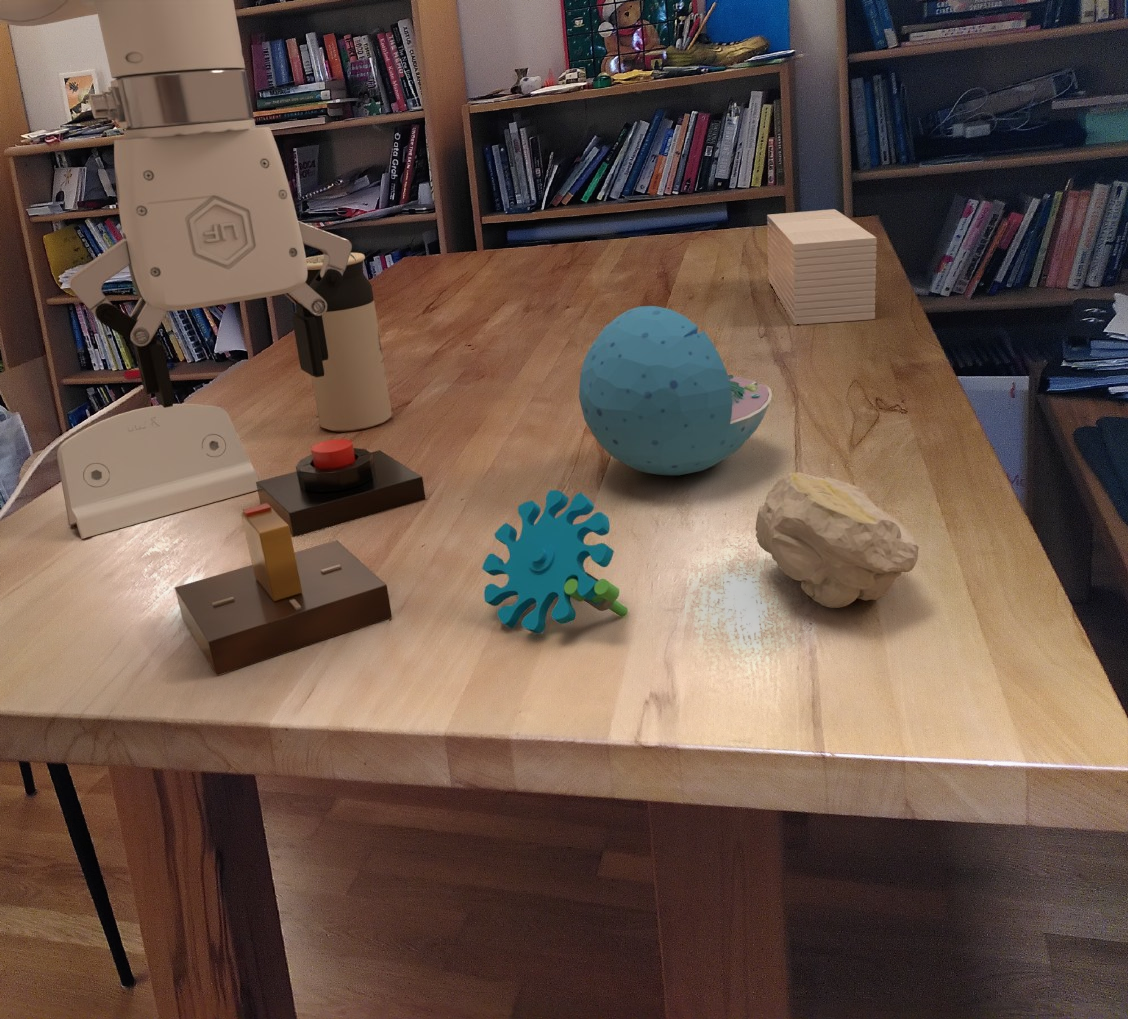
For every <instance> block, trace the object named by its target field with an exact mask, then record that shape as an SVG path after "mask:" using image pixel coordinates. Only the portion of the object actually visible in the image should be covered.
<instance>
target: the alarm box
mask: <svg viewBox="0 0 1128 1019" xmlns="http://www.w3.org/2000/svg"><path fill="white" fill-rule="evenodd" d="M353 448H354V454H355V460H356V461H354V462H353V463H351V464H349V465H345V466H341V467H337V468H327V469H321V468H314V463H313V457H312V454H310V455H307V456H306V457H304V458H302V459H300V460H299V461H298V463H297V464H296V466H295V471H293V472H288V473H285V474H281V475H277V476H274V477H273V476H272V477H270V478H265V479H261V480H259V481H257V482H256V485H257V490H256V491H257V494H258V499H259V505H261V504H265V503H268V504H269V505H270V507H271V508H272V509H273V510H274V511H275V512H276V513H277V514H278V515H279V516H280V517H281V518H282V519H283V520H284V521H285V522H286V523H287V524H288V525H289V528H290V533H291V537H294V538H295V537H298V536H302V535H306V534H309V533H312V532H317V531H320V530H322V529H326V528H330V527H334V526H338V525H341V524H344V523H348V522H351V521H354V520H358V519H362V518H365V517H369V516H372V515H376V514H380V513H383V512H386V511H390V510H393V509H397V508H400V507H401V508H402V507H405V506H407V505H410V504H414V503H418V502H422V501H426V500H427V499H426V498H427V497H426V493H425V485H424V480H423V476H422V475H420V474H419V473H417V472H415V471H414V470H412V469H411V468H409V467H407V466H406V465H405V464H403V463H401V462H399V461H398V460H397V459H395V458H393V457H392V456H390V455H389V454H387V453H385V452H384V451H382V450H379V449H378V450H375V451H371V452H370V451H369V450H367V449H365V448H357V447H353Z"/></svg>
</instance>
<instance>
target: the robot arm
mask: <svg viewBox="0 0 1128 1019" xmlns="http://www.w3.org/2000/svg"><path fill="white" fill-rule="evenodd" d="M95 15H97V17H98V22H99V26H100V31H101V35H102V40H103V45H104V49H105V54H106V59H107V62H108V63H107V64H108V67H109V72H110V77H111V79H114V80H111V81H110V83H109V84H110V86H109V87H107V89H106V90H102V91H101V92H100V93H99V92H98V93H89V94H88V100H89V104H90V109H91V112H92V116H93V118H94V119H97V120H98V119H108V120H109V121H115V122H114V123H119V127H120V129H124V130H122V131H123V135H124V138H123V139H122V138H121V139H115V140H113V146H114V147H113V157H114V159H113V160H114V175H115V176H114V177H115V187H116V197H117V205H118V213H119V220H120V225H121V226H120V227H121V231H122V239H121V240H119V241H118V242H116V243H115V244H114V245H112V246H111V247H109V248H108V249H106V250H105V251H104V252H102V253H101V254H99V255H98V256H97V257H95V258H94V259H93V260H91V261H90V262H88V263H87V264H85V265H84V266H83V267H81V268H80V269H79V270H77V271H76V272H74V273H73V274H71V275H70V276H69V277H68V280H67V285H68V286H69V288H70V290H72V292H73V293H74V294H75V295H76V296H77V297H78V299H79V300H80V301H81V302H82V303H83V304H84V305H85V306H86V308H87V309H88V310H89V311H90V312H91V313H92V315H93V317H95V318H96V319H97V320H98V321H99V322H100V323H101V324H103V325H104V326H106V327H108V329H109V328H110V330H112V331H114V332H115V333H117V334H118V335H120V336H122V337H123V338H125V339H127V340H128V341H130V342H131V343H132V345H133V350H134V354H135V358H136V362H137V367H138V372H139V374H140V375H139V376H140V379H141V380H140V381H141V385H142V388H143V390H144V393H145V394H146V395H152V394H154V396H155V399H156V401H157V402H158V403H159V404H160V405H162V406H163V407H164V408H166V407H171V406H173V404H176V397H175V393H174V389H173V385H172V384H173V383H172V380H171V376H170V371H169V366H168V362H167V358H166V352H165V349H164V345H163V344H162V343H161V342H160V341H158V339H157V336H156V333H157V330H158V329H159V328H160V326H161V324H162V322H163V320H164V319H165V317H166V315H167V314H168V312H169V311H170V312H175V311H177V312H178V311H185V310H186V311H187V310H193V309H199V308H200V309H201V308H206V307H212V306H213V307H214V306H219V305H226V304H232V303H239V302H245V301H251V300H257V299H263V298H269V297H273V296H279V295H284V296H285V297H287V299H289V300H290V301H291V302H292V303H293V304H295V306H294V307H295V311H293V314H292V315H291V320H292V321H291V322H292V327H293V332H294V338H295V344H296V350H297V354H298V361H299V366H300V369H301V370H302V372H305V373H307V374H308V375H309V376H310V377H311V376H314V377H316V378H317V377H322V376H324V368H323V361H324V360H328V349H327V343H326V337H325V331H324V325H323V319H322V315H323V314H324V313H325V312H326V311H327V305H328V303H329V302H330V300H331V299H332V297H333V296H334V294H335V293H336V292H337V290H338V289H339V287H340V286H341V284H342V282H343V273H344V271H345V269H346V266H347V263H348V259H349V256H350V253H352V250H353V244H352V243H351V241H350V240H348V239H347V238H344V237H341V236H339V235H337V234H334V233H331V232H328V231H326V230H323V229H320V228H318V227H316V226H313V225H311V224H308V223H305V222H302V221H300V220H298V216H297V211H296V207H295V203H294V199H293V195H292V192H291V189H290V188H291V187H290V184H289V180H288V177H287V174H286V171H285V167H284V164H283V161H282V157H281V155H280V151H279V148H278V144H277V142H276V140H275V137H274V135H273V132H272V130H271V128H270V126H265V127H264V126H263V127H257V126H256V120H255V115H254V111H253V110H254V109H253V104H252V97H251V92H250V87H249V81H248V76H247V71H246V70H245V69H246V64H245V59H244V55H243V48H242V42H241V36H240V30H239V25H238V19H237V14H236V7H235V2H234V0H0V23H2V24H4V25H5V24H6V25H9V26H15V27H16V26H17V27H34V26H43V25H48V24H53V23H59V22H63V21H69V20H72V19H78V18H85V17H87V16H89V17H90V16H95ZM305 246H308V247H311V248H314V249H317V250H319V251H320V252H321V253H322V255H324V260H323V265H322V268H321V270H320V271H319V272H318V274H317V275H316V277H315V278H314V279H313V281H312V282H311V284H310V285H309V286H308V285H307V284H306V283H305V282H306V280H307V262H306V258H307V255H306V250H305ZM127 267H128V271H129V275H130V279H131V283H132V286H133V288H134V291H135V294H137V296H138V297H139V299H138V301H137V302H136V304H135V306H134V307H133V309H132V311H131V313H130V315H129V314H127V313H126V312H124V311H123V310H121V309H119V308H118V307H116V306H115V305H114V304H113V303H112V302H111V301H110V300H109V299H108V297H107V296H106V295H105V293H104V292H103V289H102V288H103V286H104V284H105V283H106V282H108V281H109V280H110V279H112V278H113V277H115V276H116V275H118V274H119V273H120V272H122V271H123V270H124V269H126V268H127Z"/></svg>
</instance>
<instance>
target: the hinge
mask: <svg viewBox="0 0 1128 1019" xmlns="http://www.w3.org/2000/svg"><path fill="white" fill-rule="evenodd" d="M56 459H57V464H58V470H59V475H60V481H61V487H62V492H63V498H64V499H63V500H64V505H65V511H66V516H67V521H68V525H69V526H73V525H76V527H77V530H78V534H79V536H80V540H82V539H83V540H84V539H86V538H90V537H93V536H97V535H101V534H105V533H108V532H112V531H115V530H118V529H122V528H126V527H131V526H133V525H137V524H140V523H144V522H147V521H151V520H154V519H155V520H156V519H158V518H161V517H167V516H169V515H172V514H176V513H177V514H178V513H180V512H184V511H187V510H190V509H194V508H198V507H202V506H205V505H208V504H212V503H213V504H214V503H217V502H220V501H224V500H227V499H230V498H233V497H237V496H241V495H244V494H249V493H251V492H255V491H258V490H257V485H256V482H257V481H260V480H259V477H258V473H257V472H256V469H255V467H254V466H253V464H252V462H251V460H250V458H249V455H248V454H247V452H246V450H245V447H244V445H243V442H242V441H241V438H240V436H239V435H238V432H237V429H236V428H235V426H234V424H233V421H232V419H231V416H230V415H229V413H228V411H227V410H226V409H224V408H223V407H221V406H216V405H211V404H197V403H175V404H173V406H171V407H166V408H164V407H163V406H162V405H161V404H160V405H152V406H147V407H141V408H136V409H133V410H130V411H126V412H122V413H119V414H116V415H113V416H110V417H108V418H105V419H103V420H100V421H98V422H95V423H94V424H92V425H90V426H88V427H86V428H83V429H82V430H80V431H79V432H77V433H75V434H74V435H72V436H70V437H69V438H67V439H66V440H64V441H63V442H62V443H60V446H59V447H58V449H57V451H56Z"/></svg>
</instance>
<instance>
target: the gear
mask: <svg viewBox="0 0 1128 1019" xmlns="http://www.w3.org/2000/svg"><path fill="white" fill-rule="evenodd" d="M569 500H570V498H569V497H568V496H567V495H566V494H565V493H563V492H561V491H560V490H557V489H556V490H555V489H550V490H549V491H548V492H547V494H546V496H545V505H544V510H543V512H542V514H541V506H540V505H539V504H538V503H536V501H534V500H528V501H525V502H523V503H521V504H519V505H518V509H517V513H518V515H519V517H520V518H521V532H520V535H519V537H518V539H517V536H518V531H517V529H516V528H515V527H513V526H512V525H510V524H509V523H507V522H505V523H503V524H502V525H501V526H499V528H498V529H497V530H496V532H494V537H495V539H496V540H497V541H499V542H500V543H502V544H503V545H505V546H506V548H507V550H508V553H509V558H508V560H506V562H504V559H502V558H501V557H500V556H498V555H496V554H495V553H488V555H487V556H486V558H485V559H484V562H483V565H482V567H481V569H482V570H483V571H484V572H485V573H487V574H489V575H490V576H493V577H495V576H499V575H507V578H508V580H507V582H506V584H505V585H504V586H502V587H500V586H498V585H497V584H495V583H489V584H487V585H486V586H484V592H483V593H484V594H483V596H484V597H483V598H484V602H485V603H487V604H489V605H490V606H492V607H497V606H499V605H501V604H502V603H503V602H504V601H505V600H507V599H509V598H511V597H515V596H517V600H516V601H515V602H514V603H513V604H509V605H503V606H501V607H500V608H499V609H498V610H497V612H496V615H497V618H498V620H499V621H500V622H501V623H502V625H504V626H505V627H507V628H509V629H513V628H515V627H516V626H517V625H518V623H519V622H520V619H521V618H522V616H523V614H524V613H525V612H526V611H527V610H528V609H529V608H531V607H532V606H534V605H535V607H534V608H533V610H531V611H530V612H528V613H527V614H526V615H525V616H524V617H523V618H522V620H521V626H522V627H523V629H525V630H527V631H529V632H532V633H533V634H537V635H541V634H543V633H544V631H545V629H546V620H547V615H548V612H549V609H550V608H551V606H552V605H553V603H554V602H555V600H556V599H557V598H558V599H557V602H556V604H555V605H554V607H553V608H552V610H551V619H552V620H553V621H555V622H556V623H558V624H560V625H564V624H568V623H571V622H573V621H575V620H576V616H577V612H576V610H575V608H574V607H573V603H572V599H574V600H576V601H578V602H583V601H584V602H585V603H586V604H588V605H590V606H591V607H593V608H594V609H595V610H597V611H600V612H605V611H608V610H609V611H611V612H613V613H614V614H616V615H617V616H618V617H620V618H625V617H626V616H627V615H628V613H629V609H628V607H627V606H625V605H624V604H622V603H621V602H620V601H618V598H619V597H620V589H619V587H617V586H616V585H614V584H613V583H612V582H610V581H609V580H607V579H605V578H601V579H599V578H596V577H595V576H593V575H591V574H590V573H589V572H587V571H586V569H585V567H584V566H585V565H584V563H585V561H586V559H587V558H588V557H590V558H591V560H592V561H593V562H594V563H595V564H597V565H598V566H599V567H601V568H608V567H609V565H610V563H611V562H612V559H613V556H614V553H615V550H614V549H612V548H611V546H609V545H607V544H605V543H604V542H601V543H597V544H586V543H585V542H584V541H585V538H586V536H587V535H588V534H590V533H594V534H596V535H598V536H601V537H602V536H603V537H604V536H606V535H608V534H609V532H610V526H611V524H610V520H609V517H608V516H607V515H606V514H604V513H603V512H602V511H598V512H595V513H593V514H592V515H591V516H590V517H589V518H587V519H586V520H584V521H582V522H579V523H574V522H575V520H576V519H577V518H578V517H580V516H587V515H589V514H591V513H592V512H593V510H595V505H594V503H593V502H592V500H591V499H590V498H588V497H587V496H586V495H584V493H583V492H577V494H575V495H574V496H573V498H572V500H571V503H570V504H569V505H568V503H569ZM566 507H567V508H566ZM565 508H566V509H565ZM563 509H565V510H564V511H563V512H562V513H561V514H559V515H558V516H557V514H558V513H559V512H560V511H562V510H563ZM540 514H541V516H540ZM539 516H540V517H539ZM537 519H538V520H537ZM536 521H537V522H536Z"/></svg>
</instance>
